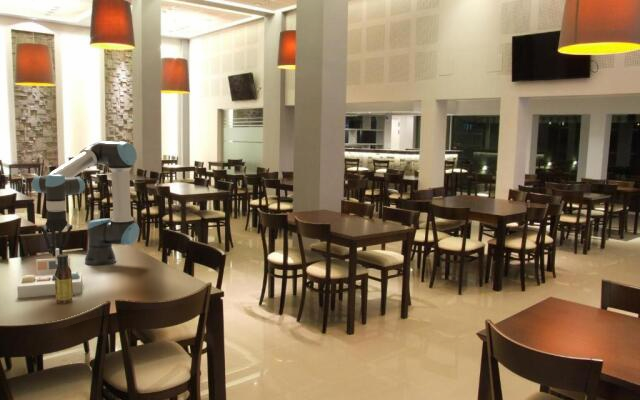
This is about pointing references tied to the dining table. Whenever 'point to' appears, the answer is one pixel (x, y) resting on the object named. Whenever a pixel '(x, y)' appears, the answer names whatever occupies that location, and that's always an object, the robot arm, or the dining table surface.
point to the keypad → (44, 287)
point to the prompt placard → (47, 266)
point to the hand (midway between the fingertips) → (57, 263)
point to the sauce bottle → (63, 280)
